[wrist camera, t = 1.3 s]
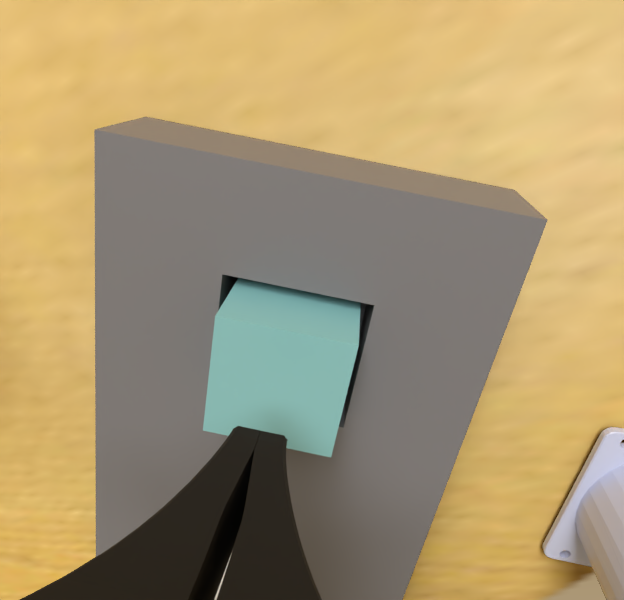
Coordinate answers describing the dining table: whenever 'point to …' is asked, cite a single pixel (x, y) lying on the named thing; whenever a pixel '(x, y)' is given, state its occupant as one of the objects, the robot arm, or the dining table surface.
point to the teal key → (282, 364)
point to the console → (312, 278)
